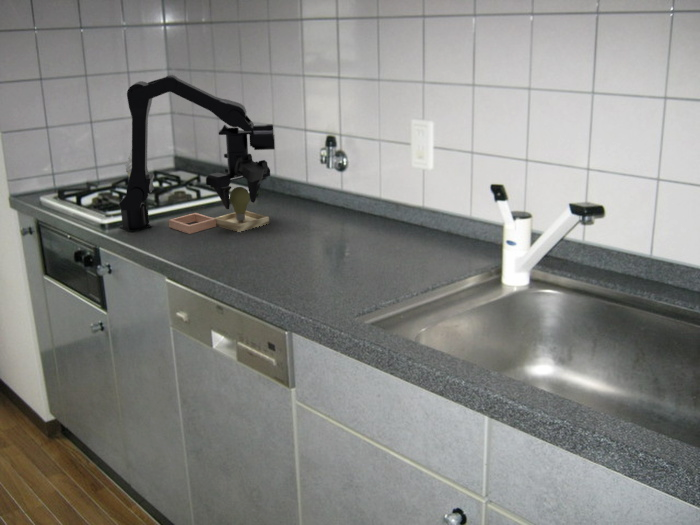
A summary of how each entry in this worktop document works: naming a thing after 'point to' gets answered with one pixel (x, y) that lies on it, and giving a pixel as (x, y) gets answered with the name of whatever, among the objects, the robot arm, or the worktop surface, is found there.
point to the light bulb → (239, 202)
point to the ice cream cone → (129, 165)
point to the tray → (249, 222)
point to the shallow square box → (182, 224)
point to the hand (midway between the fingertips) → (240, 205)
